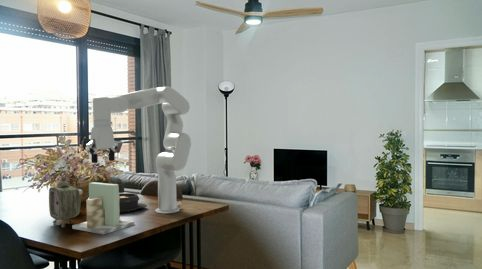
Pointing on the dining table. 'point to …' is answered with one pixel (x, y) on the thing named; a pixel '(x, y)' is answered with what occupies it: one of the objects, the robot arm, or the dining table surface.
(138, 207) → the casserole
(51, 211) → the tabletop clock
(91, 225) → the birch slotted base
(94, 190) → the sage slotted plate
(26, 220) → the dining table surface
